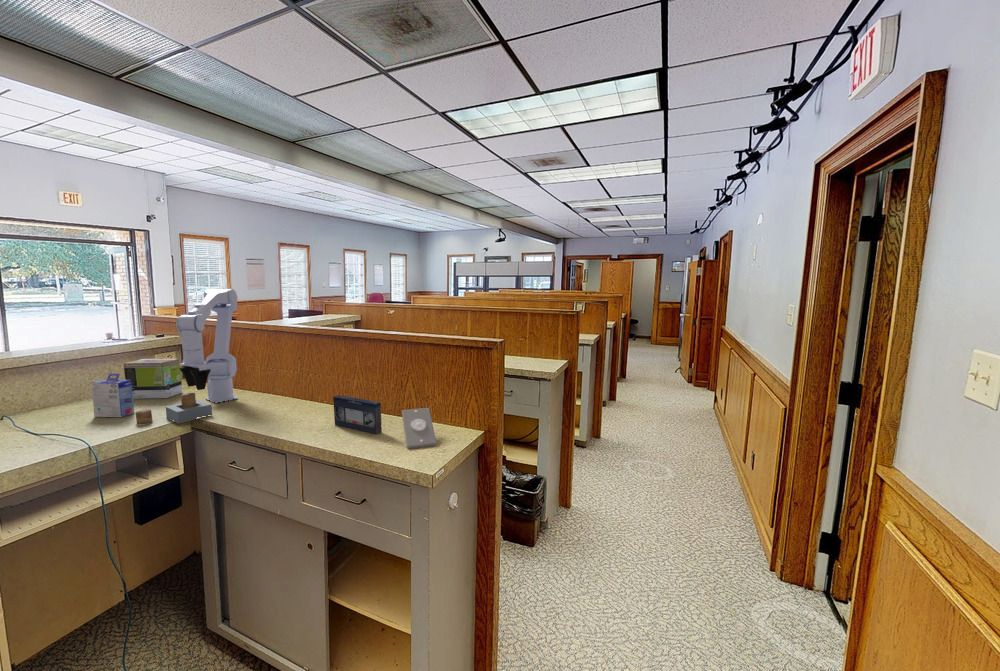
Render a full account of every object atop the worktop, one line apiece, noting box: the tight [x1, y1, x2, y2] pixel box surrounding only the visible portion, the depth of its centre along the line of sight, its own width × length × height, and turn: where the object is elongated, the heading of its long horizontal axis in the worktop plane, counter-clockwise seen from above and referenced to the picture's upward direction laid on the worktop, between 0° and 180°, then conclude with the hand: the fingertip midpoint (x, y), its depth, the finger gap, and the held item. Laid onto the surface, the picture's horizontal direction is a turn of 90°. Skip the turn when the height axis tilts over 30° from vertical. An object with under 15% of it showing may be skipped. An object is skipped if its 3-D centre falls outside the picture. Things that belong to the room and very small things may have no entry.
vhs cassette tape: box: [333, 394, 383, 435], centre depth 135 cm, size 18×3×10 cm, turn 62°
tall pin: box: [180, 392, 197, 409], centre depth 145 cm, size 4×4×8 cm
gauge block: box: [165, 399, 213, 424], centre depth 145 cm, size 10×10×4 cm
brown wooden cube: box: [135, 409, 153, 426], centre depth 139 cm, size 4×4×4 cm
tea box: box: [123, 357, 183, 400], centre depth 169 cm, size 15×10×15 cm
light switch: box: [401, 407, 437, 450], centre depth 127 cm, size 8×6×14 cm
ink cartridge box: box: [91, 373, 135, 418], centre depth 145 cm, size 10×6×14 cm, turn 89°
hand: (196, 387), depth 146 cm, fingers open, 7 cm apart
